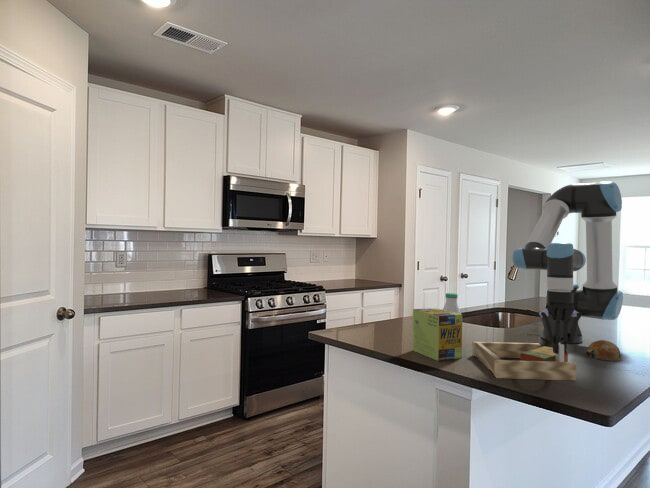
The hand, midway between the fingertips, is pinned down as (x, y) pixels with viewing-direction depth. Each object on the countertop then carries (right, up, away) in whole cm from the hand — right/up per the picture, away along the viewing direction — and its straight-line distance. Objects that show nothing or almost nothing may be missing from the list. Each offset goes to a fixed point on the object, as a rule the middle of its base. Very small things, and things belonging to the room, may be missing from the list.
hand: (559, 363), depth 138 cm
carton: (-2, -2, +5) cm, 6 cm away
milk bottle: (-26, -1, +32) cm, 41 cm away
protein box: (-36, -1, +16) cm, 39 cm away
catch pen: (-12, -2, +2) cm, 13 cm away
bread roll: (+24, -2, +15) cm, 28 cm away
